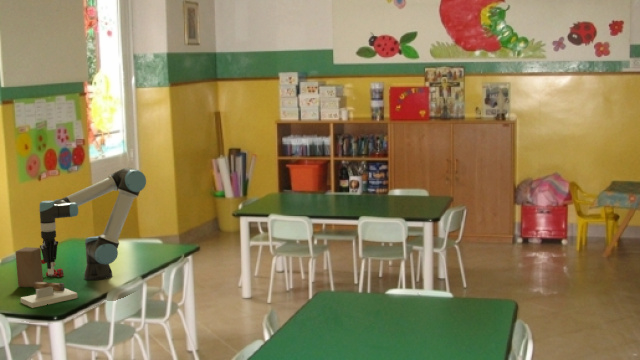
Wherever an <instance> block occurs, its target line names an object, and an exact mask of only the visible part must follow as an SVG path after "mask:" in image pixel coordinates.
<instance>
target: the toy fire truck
mask: <svg viewBox="0 0 640 360" xmlns="http://www.w3.org/2000/svg"><path fill="white" fill-rule="evenodd" d="M41 261H42V265H45V264H47V263H46V262H44V260H43V259H41ZM56 265H57V263H56V261H55V262H54V267H55V266H56ZM64 274H65V273H64V269H63V268H56V269H55V268H54V274H53V275H48V271H46V272H45V276H47V277H50V278H52V277H57V278H61V277H64Z"/></svg>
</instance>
